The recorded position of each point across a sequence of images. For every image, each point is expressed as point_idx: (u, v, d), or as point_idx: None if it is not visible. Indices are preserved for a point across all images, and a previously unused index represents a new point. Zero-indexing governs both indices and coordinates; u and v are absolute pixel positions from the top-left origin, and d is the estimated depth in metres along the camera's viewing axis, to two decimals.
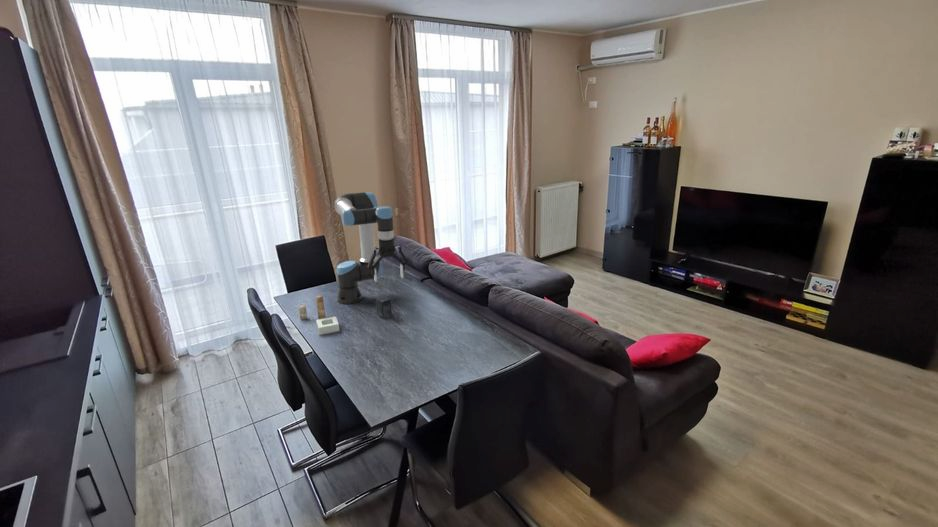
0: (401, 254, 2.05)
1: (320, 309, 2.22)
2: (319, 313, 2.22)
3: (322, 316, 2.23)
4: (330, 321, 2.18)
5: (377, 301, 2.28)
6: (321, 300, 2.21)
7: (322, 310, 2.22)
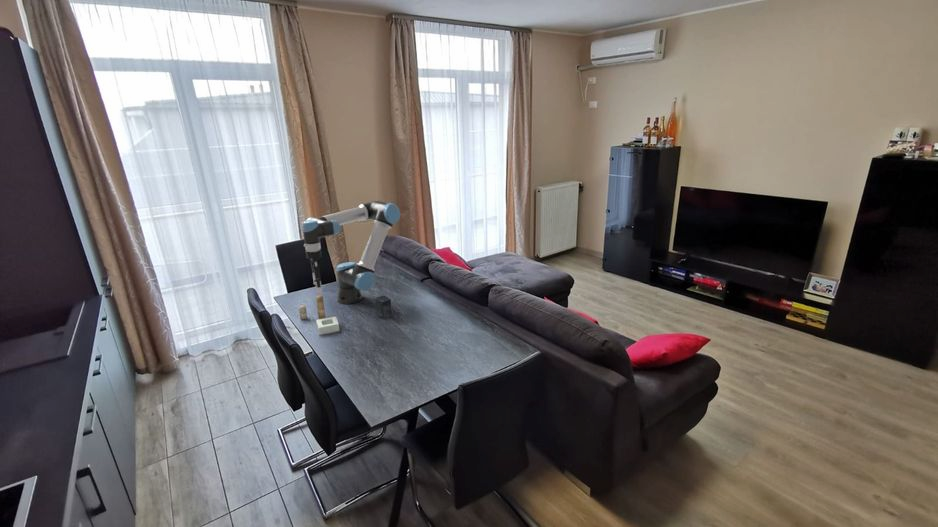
0: (314, 270, 2.09)
1: (320, 309, 2.22)
2: (319, 313, 2.22)
3: (322, 316, 2.23)
4: (330, 321, 2.18)
5: (377, 301, 2.28)
6: (321, 300, 2.21)
7: (322, 310, 2.22)
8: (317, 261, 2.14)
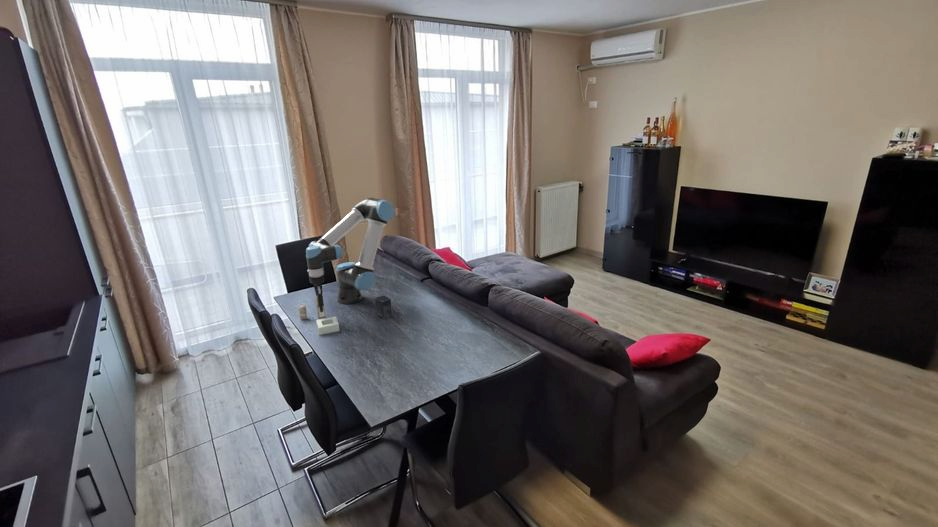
0: (317, 296, 2.16)
1: None
2: None
3: None
4: (330, 321, 2.18)
5: (377, 301, 2.28)
6: None
7: None
8: (320, 286, 2.18)
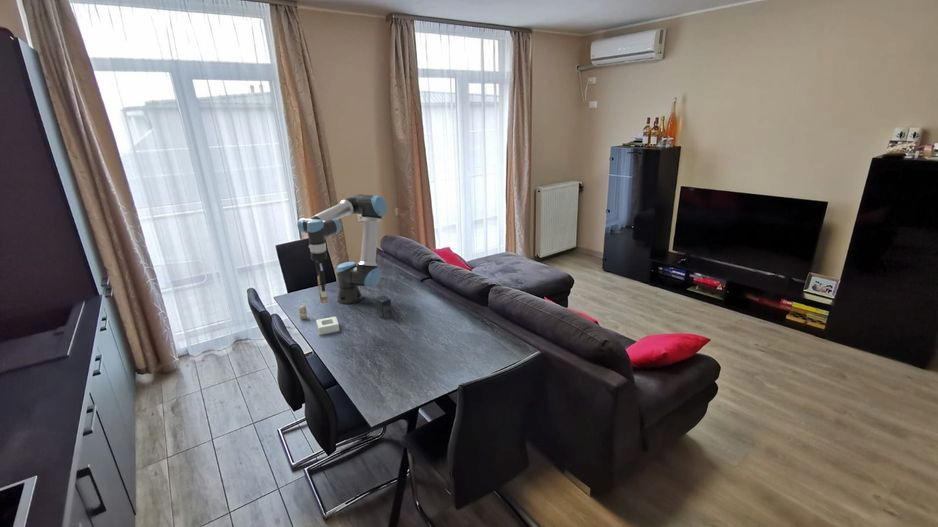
0: (319, 274, 2.01)
1: None
2: None
3: (324, 297, 2.08)
4: (330, 321, 2.18)
5: (377, 301, 2.28)
6: None
7: None
8: None
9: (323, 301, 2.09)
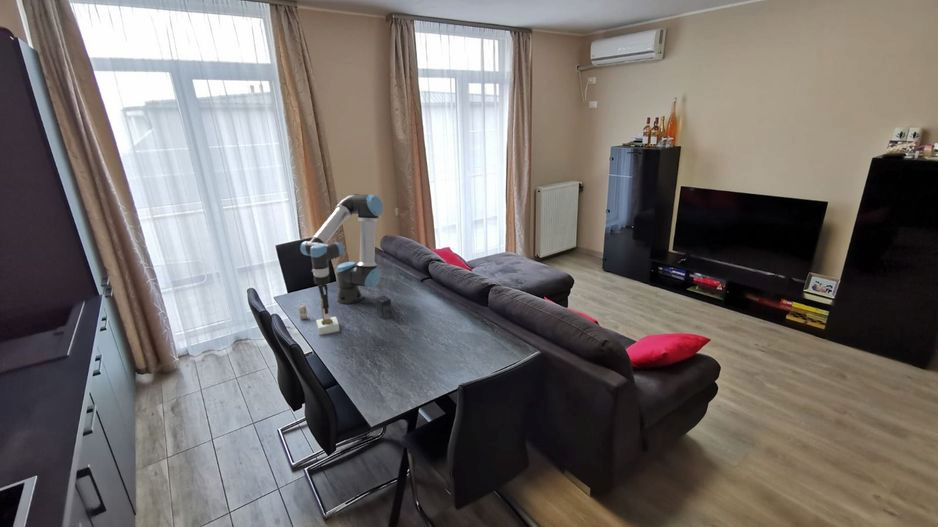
0: (322, 297, 2.05)
1: None
2: None
3: (327, 320, 2.12)
4: None
5: (377, 301, 2.28)
6: None
7: None
8: None
9: (326, 323, 2.13)
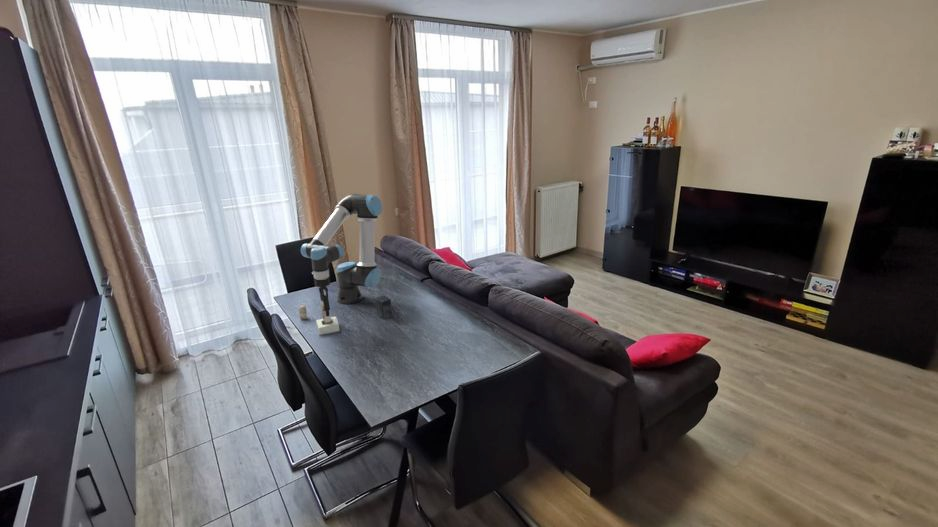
0: (323, 299, 2.04)
1: None
2: (325, 322, 2.13)
3: None
4: None
5: (377, 301, 2.28)
6: None
7: None
8: (326, 289, 2.08)
9: None
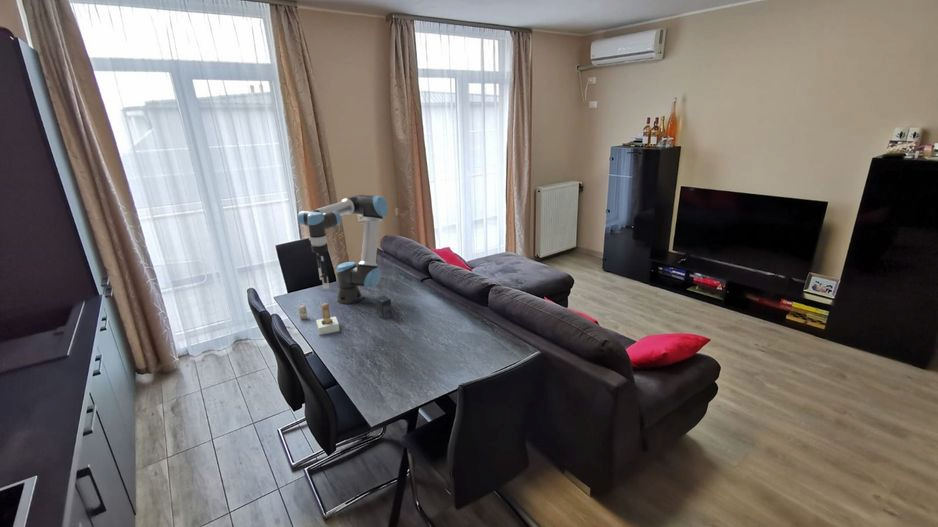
0: (320, 265, 1.99)
1: (326, 317, 2.12)
2: (325, 322, 2.13)
3: None
4: None
5: (377, 301, 2.28)
6: (327, 308, 2.11)
7: (328, 318, 2.13)
8: (323, 255, 2.03)
9: None
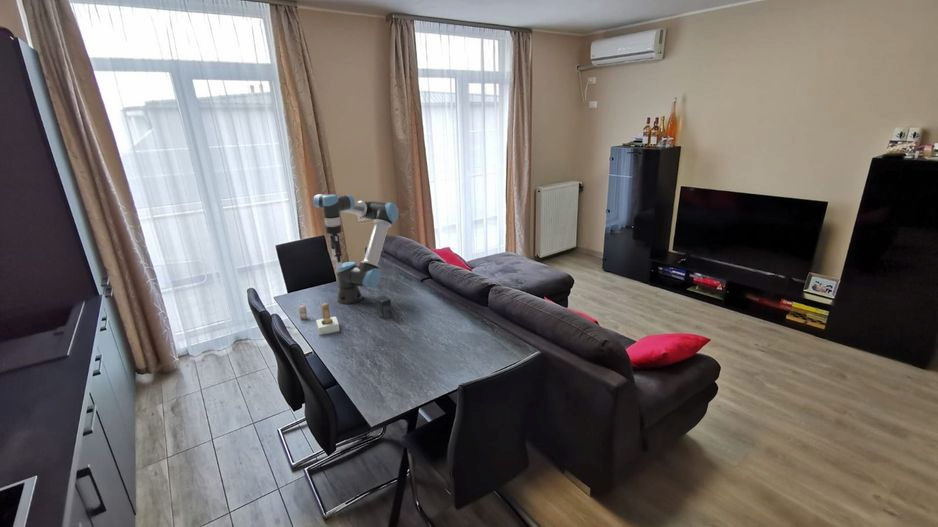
0: (334, 245, 2.08)
1: (326, 317, 2.12)
2: (325, 322, 2.13)
3: None
4: None
5: (377, 301, 2.28)
6: (327, 308, 2.11)
7: (328, 318, 2.13)
8: (337, 236, 2.12)
9: None
